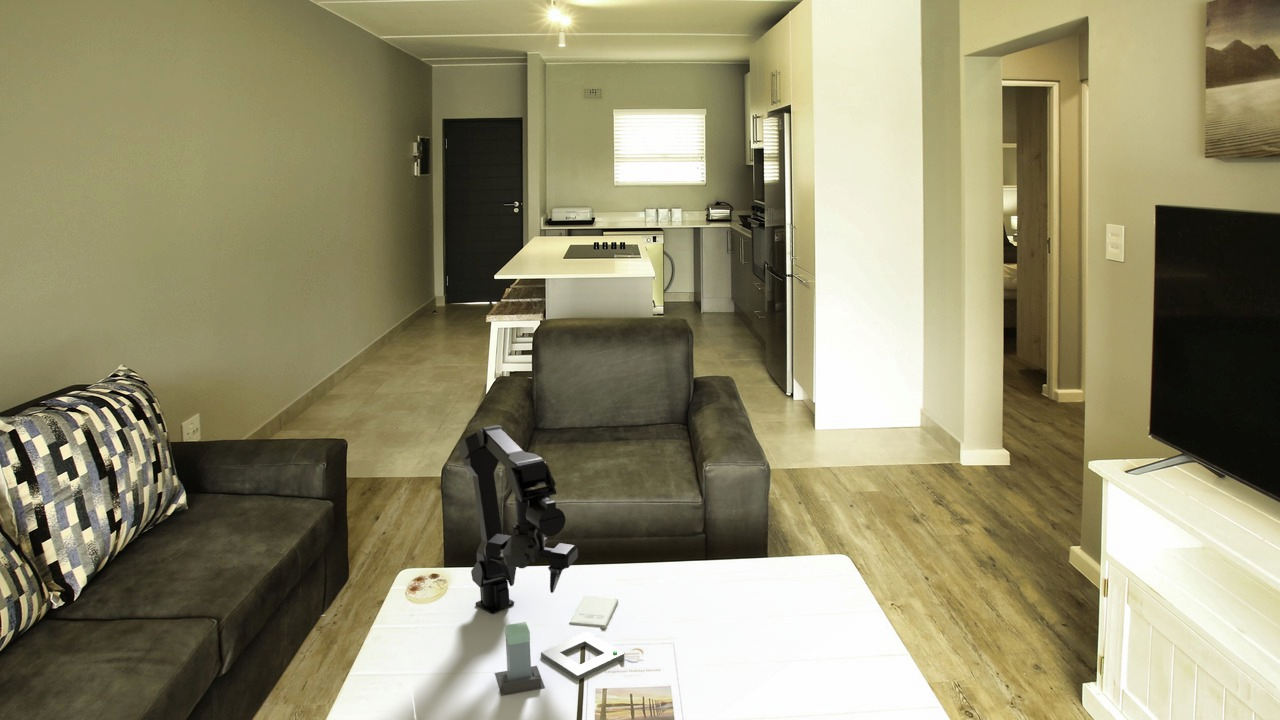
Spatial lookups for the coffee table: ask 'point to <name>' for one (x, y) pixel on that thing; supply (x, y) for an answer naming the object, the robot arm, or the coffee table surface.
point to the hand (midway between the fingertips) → (532, 588)
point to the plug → (518, 651)
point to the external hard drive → (594, 611)
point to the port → (580, 671)
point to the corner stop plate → (519, 682)
